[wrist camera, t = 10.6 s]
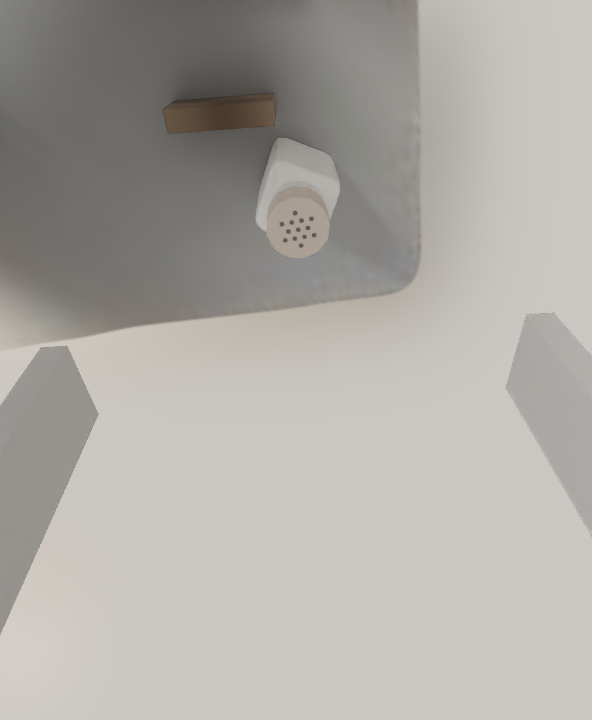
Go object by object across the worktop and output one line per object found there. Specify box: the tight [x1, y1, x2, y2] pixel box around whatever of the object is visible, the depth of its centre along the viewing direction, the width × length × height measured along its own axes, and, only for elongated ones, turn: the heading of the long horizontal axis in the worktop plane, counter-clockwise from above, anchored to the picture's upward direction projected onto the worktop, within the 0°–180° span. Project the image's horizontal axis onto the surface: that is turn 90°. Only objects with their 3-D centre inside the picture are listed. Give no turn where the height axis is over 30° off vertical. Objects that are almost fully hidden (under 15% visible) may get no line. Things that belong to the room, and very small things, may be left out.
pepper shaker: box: [255, 138, 340, 259], centre depth 26 cm, size 4×4×10 cm
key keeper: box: [163, 93, 276, 134], centre depth 24 cm, size 6×9×3 cm
